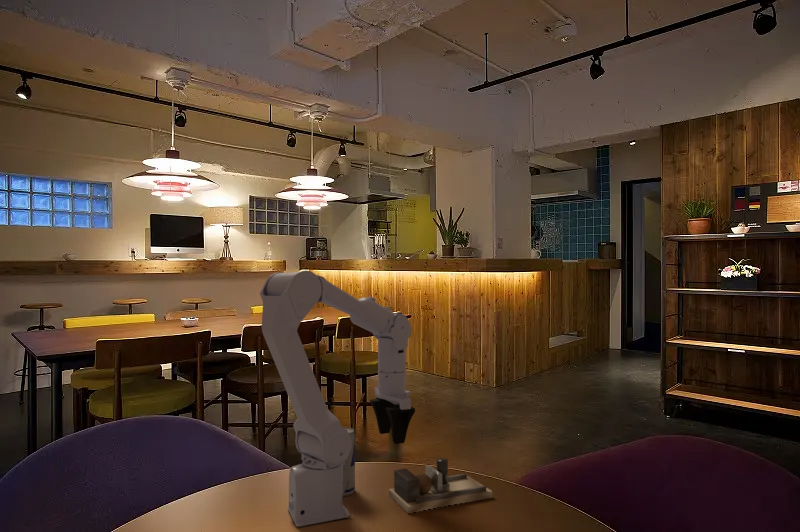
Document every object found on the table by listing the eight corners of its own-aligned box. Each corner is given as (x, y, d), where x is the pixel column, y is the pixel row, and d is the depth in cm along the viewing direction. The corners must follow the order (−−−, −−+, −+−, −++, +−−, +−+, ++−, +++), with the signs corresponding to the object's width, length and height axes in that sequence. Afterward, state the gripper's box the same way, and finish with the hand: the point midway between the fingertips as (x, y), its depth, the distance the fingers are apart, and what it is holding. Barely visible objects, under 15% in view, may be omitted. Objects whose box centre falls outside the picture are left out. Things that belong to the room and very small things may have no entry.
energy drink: (357, 487, 100) (357, 427, 101) (352, 497, 95) (352, 434, 96) (331, 486, 101) (332, 426, 102) (324, 496, 96) (325, 433, 96)
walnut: (418, 498, 92) (418, 478, 92) (410, 491, 95) (410, 472, 95) (435, 495, 93) (435, 475, 94) (426, 488, 97) (426, 469, 97)
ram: (437, 495, 93) (437, 465, 93) (425, 485, 97) (425, 457, 98) (453, 492, 94) (453, 463, 94) (440, 482, 99) (440, 455, 99)
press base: (408, 513, 88) (408, 484, 88) (388, 495, 96) (389, 468, 97) (492, 497, 95) (492, 470, 96) (467, 481, 103) (467, 456, 104)
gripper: (424, 374, 97) (424, 445, 96) (395, 365, 110) (395, 427, 109) (391, 377, 94) (391, 449, 93) (365, 367, 107) (365, 430, 106)
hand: (391, 437), depth 101 cm, fingers open, 7 cm apart
